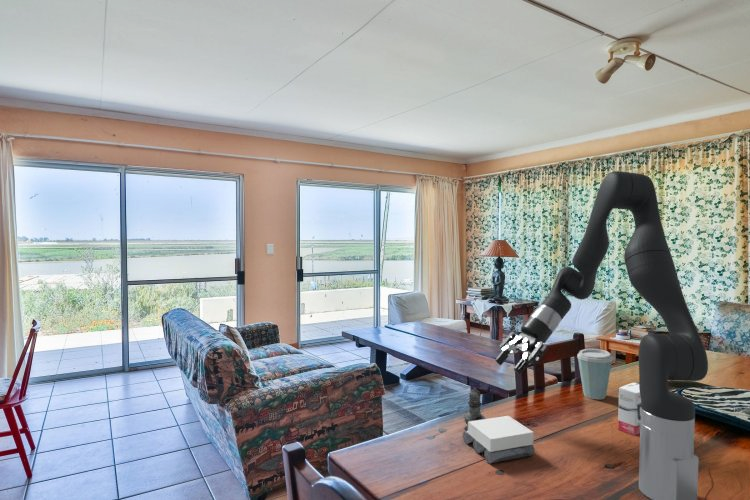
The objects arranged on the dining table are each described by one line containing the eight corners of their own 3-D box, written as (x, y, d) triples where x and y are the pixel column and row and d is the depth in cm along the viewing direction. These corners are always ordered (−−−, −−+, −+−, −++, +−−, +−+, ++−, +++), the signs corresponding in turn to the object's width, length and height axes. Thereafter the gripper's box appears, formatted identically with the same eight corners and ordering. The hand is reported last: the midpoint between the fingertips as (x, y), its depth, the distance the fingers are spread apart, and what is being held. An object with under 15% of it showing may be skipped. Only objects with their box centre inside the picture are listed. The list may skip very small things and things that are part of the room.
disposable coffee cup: (603, 404, 138) (604, 357, 137) (570, 395, 146) (571, 350, 145) (617, 397, 144) (618, 352, 144) (584, 388, 153) (585, 345, 152)
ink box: (635, 436, 116) (637, 392, 116) (616, 429, 120) (618, 387, 120) (651, 428, 121) (652, 386, 120) (632, 422, 125) (633, 381, 125)
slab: (533, 444, 105) (533, 432, 105) (490, 452, 101) (490, 439, 101) (508, 426, 114) (508, 415, 114) (467, 433, 110) (468, 421, 110)
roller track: (534, 457, 104) (534, 445, 104) (491, 465, 101) (491, 453, 100) (502, 434, 117) (502, 423, 117) (462, 440, 113) (462, 429, 113)
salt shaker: (469, 423, 123) (470, 381, 123) (488, 429, 120) (489, 386, 119) (459, 430, 119) (460, 387, 118) (479, 437, 115) (480, 392, 115)
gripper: (518, 311, 131) (484, 352, 127) (551, 320, 117) (515, 366, 114) (532, 327, 133) (499, 368, 129) (566, 338, 119) (531, 384, 116)
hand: (506, 367), depth 122 cm, fingers open, 8 cm apart
